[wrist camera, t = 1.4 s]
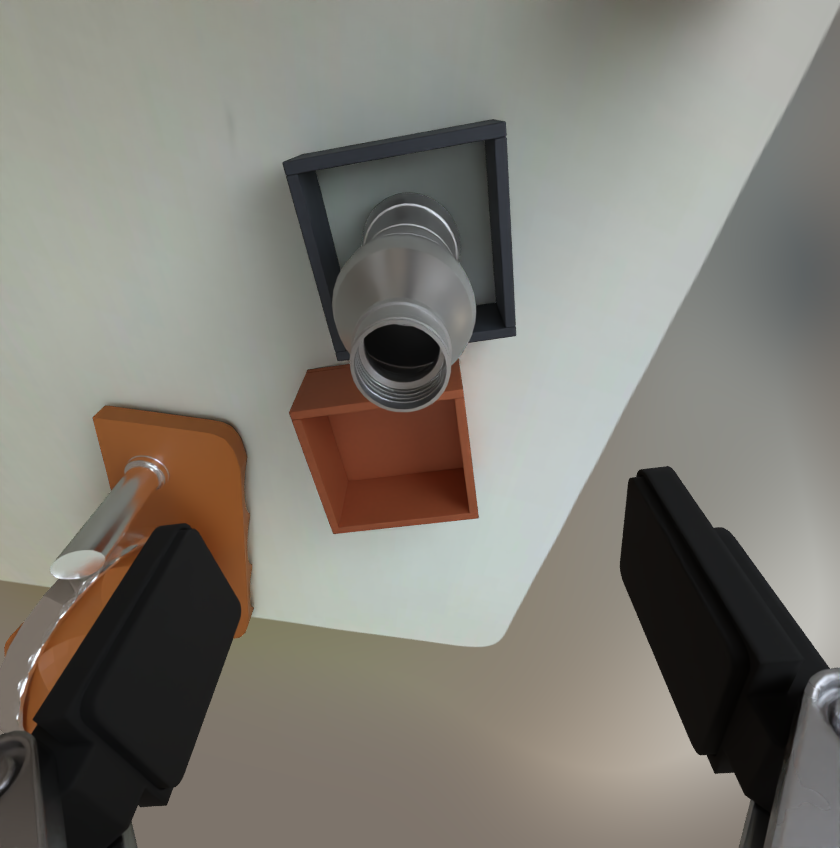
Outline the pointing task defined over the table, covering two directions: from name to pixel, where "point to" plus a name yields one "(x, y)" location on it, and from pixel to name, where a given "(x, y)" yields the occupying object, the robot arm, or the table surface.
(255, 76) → the table surface
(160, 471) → the desk clock
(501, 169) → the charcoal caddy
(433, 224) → the metal bottle
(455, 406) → the terracotta bin
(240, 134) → the table surface
